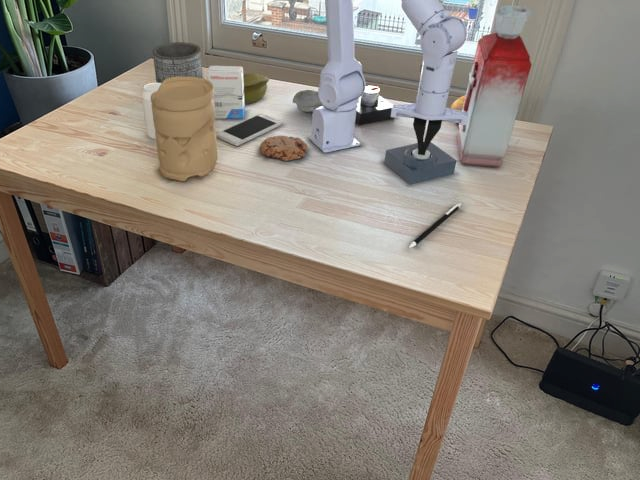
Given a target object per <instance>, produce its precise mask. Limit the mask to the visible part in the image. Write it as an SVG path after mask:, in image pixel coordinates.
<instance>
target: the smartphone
mask: <svg viewBox="0 0 640 480" xmlns="http://www.w3.org/2000/svg"><path fill="white" fill-rule="evenodd" d="M281 125H282V120H279V119H276V118H274V117H271V116H268V115H266V114H264V113H258V114H256V115H254V116H252V117H249V118H247V119H245V120H243V121H241V122H239V123H236V124H234V125H232V126H229V127H228V128H226V129H222V130H221V131H218V132H216V138H218V139H220V140H222V141H225V142H227V143H229V144H231V145H234V146H236V147H238V146H241V145H243V144H245V143H247V142H249V141H251V140H253V139H255V138H257V137H260V136H261V135H263V134H266V133H267V132H270V131H271V130H274V129H276V128H278V127H280V126H281Z"/></svg>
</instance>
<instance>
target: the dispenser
mask: <svg viewBox="0 0 640 480" xmlns="http://www.w3.org/2000/svg"><path fill="white" fill-rule="evenodd" d="M423 143H424V141H423ZM415 149H418V142H416V143H412V144H407V145H402V146H397V147H393V148H388V149H385V153H384V162H383V163H384V164H385V165H386V166H387V167H388V168H390V170H392V171H393V172H394V173H395V174H397V175H398V176H399V177H400V178H401V179H403V180H404V181H405V182H406V183H407V184H409V185H414V184H418V183H422V182H426V181H430V180H435V179H438V178H443V177H446V176H451V175H454V173H455V170H456V165H457V159H456V158H454V157H453V156H451V155H450V154H448V153H447V152H445V150H443V149H442V148H440V147H439V146H437V145H436V144H434V143H433V142H432V141H431V142H430V144H429V146H428V148H427V150H428V151H429V152H430V158H428V159H418V158H414V157H413V156H412V152H413V150H415Z"/></svg>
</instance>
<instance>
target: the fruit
mask: <svg viewBox="0 0 640 480" xmlns="http://www.w3.org/2000/svg"><path fill="white" fill-rule="evenodd" d="M465 96H466V94H464V95H462V96H460V97H459V98H457V99H455V101H454V102H452V104H451V106H450V108H451V109H455V110H459V111H462V109H463V105H464V101H465ZM455 124H456V125H458V126H459V123H455Z"/></svg>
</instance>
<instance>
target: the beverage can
mask: <svg viewBox="0 0 640 480" xmlns="http://www.w3.org/2000/svg"><path fill="white" fill-rule="evenodd" d="M161 84H162V83H156V82H149V83H146V84H144V85H143V89H142V92H141V102H142V110H143V115H144V122H145V129H146V134H147V135H146V136H147V137H149V138H151V139H152V140H155V141H156V135H155V132H156V131H155V127H154V121H153V113H152V103H151V94H152V93H154V92H157V91H158V88H159V87H160V85H161Z"/></svg>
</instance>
